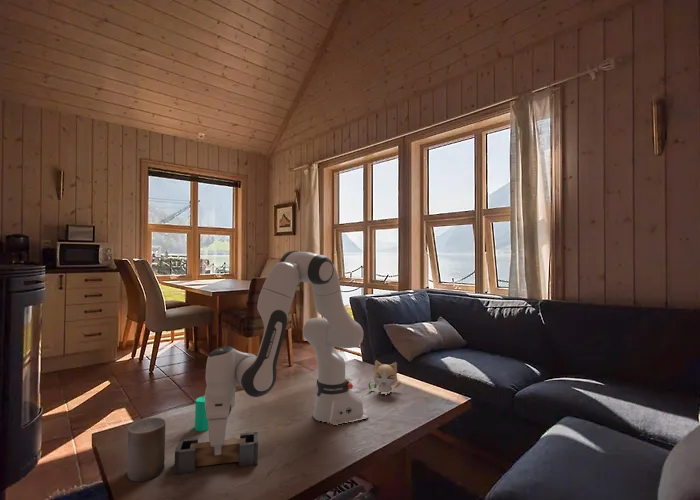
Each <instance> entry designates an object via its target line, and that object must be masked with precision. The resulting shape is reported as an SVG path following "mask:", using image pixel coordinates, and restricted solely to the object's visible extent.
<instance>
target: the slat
mask: <svg viewBox="0 0 700 500" xmlns="http://www.w3.org/2000/svg"><path fill="white" fill-rule="evenodd" d="M245 442H246V438H241V439H240V438H234V439H224V444H223V445H222V446H221V454H220V455H215V449H214V447H211V446H210V442H209V441H205V442H204V441H203V442H198V443H192V444H191V446H190V449H193V448H196V450H195V468H197V467H202V466H203V467H205V466H211V465H219V464H220V465H221V464H226V463H227V464H229V463H236V462H238V463H239V453H240V443H245Z"/></svg>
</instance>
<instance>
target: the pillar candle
mask: <svg viewBox="0 0 700 500" xmlns="http://www.w3.org/2000/svg"><path fill="white" fill-rule="evenodd" d="M127 430H128V433H127V473H126V476H127V478H128V479H129V481H133V482H143V481H149V480H151V479H154V478H155V477H157V476H159V475H160V474H161V473H163V472H164V470H165V469H166V468H165V467H166V466H165V460H166V458H165V457H166V456H165V455H166V450H165V449H166V447H165V446H166V420H165V419H163V418H161V417H149V418H144V419H141V420H140V419H139V420H138V421H135V422H133V423H132V424H130V425H129V426H128V428H127Z"/></svg>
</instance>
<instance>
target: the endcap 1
mask: <svg viewBox="0 0 700 500" xmlns="http://www.w3.org/2000/svg"><path fill="white" fill-rule="evenodd" d="M192 443H199V437H196V438H195V437H194V438H185V439H179V441H178V443H177V446H176V449H175V452H174V469H173V475H174V476H179V475H186V474H195V470H196V467H195V450H196V448H193V449H190V446H191V444H192Z"/></svg>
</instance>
